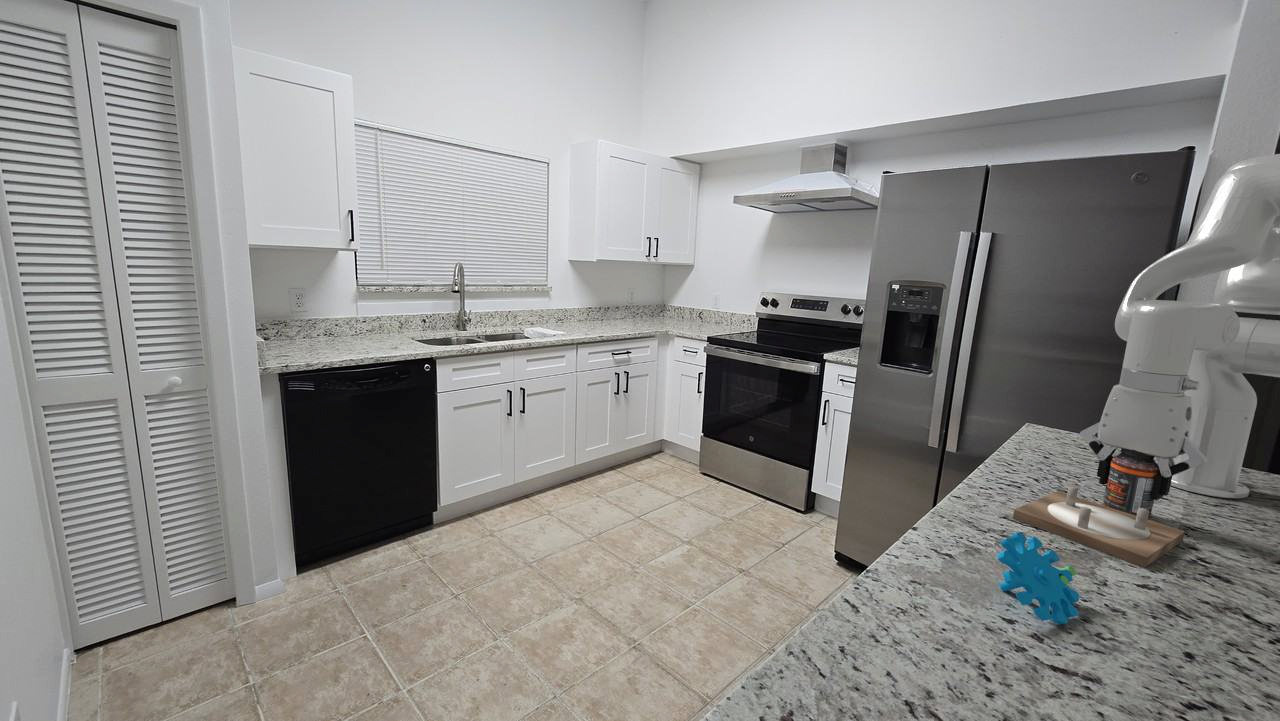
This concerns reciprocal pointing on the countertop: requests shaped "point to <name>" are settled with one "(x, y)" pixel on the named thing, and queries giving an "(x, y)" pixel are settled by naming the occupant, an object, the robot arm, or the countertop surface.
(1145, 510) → the pin board
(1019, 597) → the gear
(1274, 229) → the robot arm
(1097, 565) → the countertop surface
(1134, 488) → the supplement bottle
